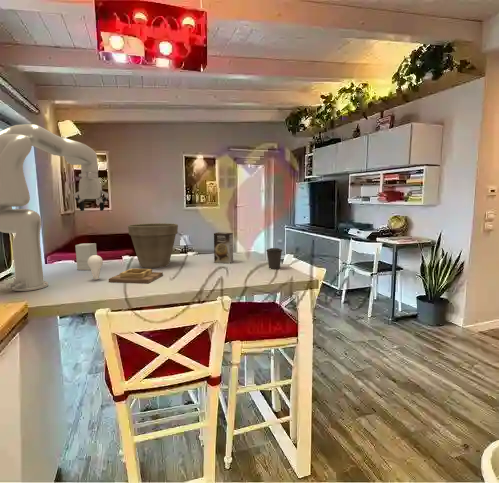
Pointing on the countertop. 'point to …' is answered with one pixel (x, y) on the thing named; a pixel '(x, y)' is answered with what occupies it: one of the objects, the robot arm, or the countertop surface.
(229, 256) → the coffee box
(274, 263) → the coffee cup
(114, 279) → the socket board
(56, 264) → the countertop surface
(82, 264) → the supplement box
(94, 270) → the lightbulb
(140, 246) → the plant pot
